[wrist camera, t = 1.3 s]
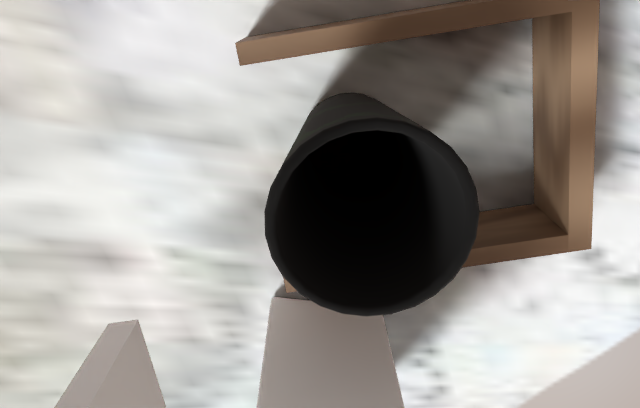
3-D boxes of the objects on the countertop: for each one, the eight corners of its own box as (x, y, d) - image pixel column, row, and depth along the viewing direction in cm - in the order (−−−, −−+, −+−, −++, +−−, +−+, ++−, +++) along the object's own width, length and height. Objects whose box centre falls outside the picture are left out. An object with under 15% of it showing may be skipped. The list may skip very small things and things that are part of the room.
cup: (414, 65, 28) (480, 107, 17) (419, 197, 31) (480, 307, 20) (273, 81, 29) (248, 132, 17) (290, 210, 31) (279, 327, 20)
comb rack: (191, -242, 23) (158, -310, 18) (570, -313, 23) (646, -405, 18) (289, 255, 32) (285, 302, 27) (564, 214, 32) (613, 255, 27)
